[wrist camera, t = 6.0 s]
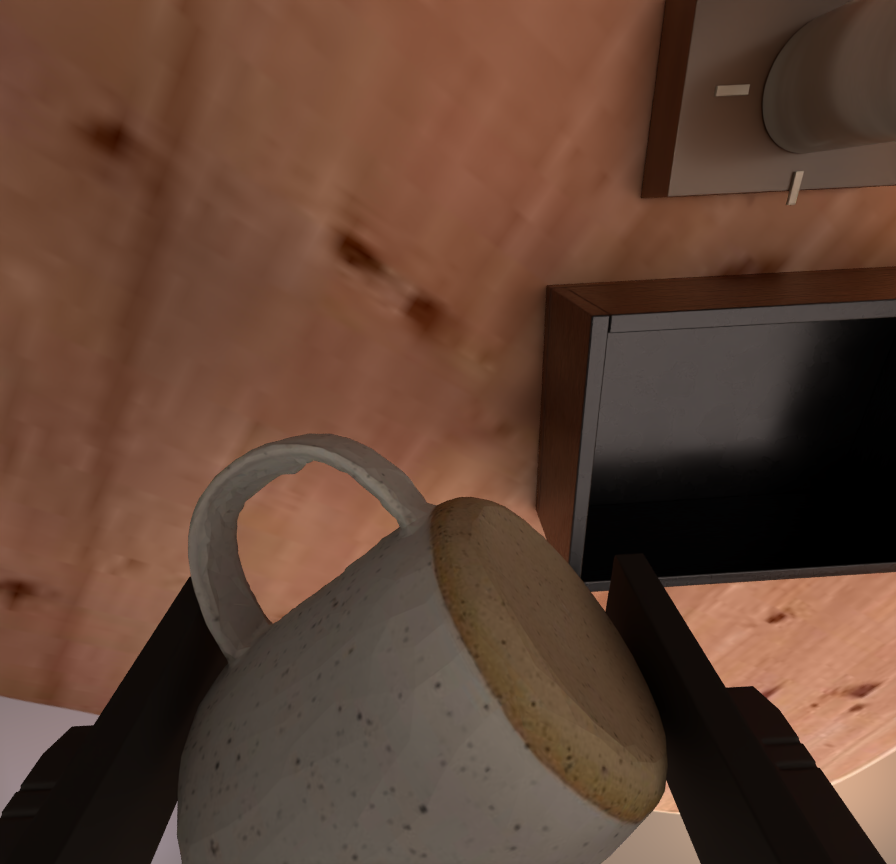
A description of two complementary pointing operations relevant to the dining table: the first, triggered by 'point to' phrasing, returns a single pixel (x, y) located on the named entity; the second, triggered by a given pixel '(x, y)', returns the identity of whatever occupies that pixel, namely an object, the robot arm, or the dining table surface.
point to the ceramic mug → (411, 693)
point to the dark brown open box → (721, 426)
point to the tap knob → (836, 81)
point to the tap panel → (738, 107)
